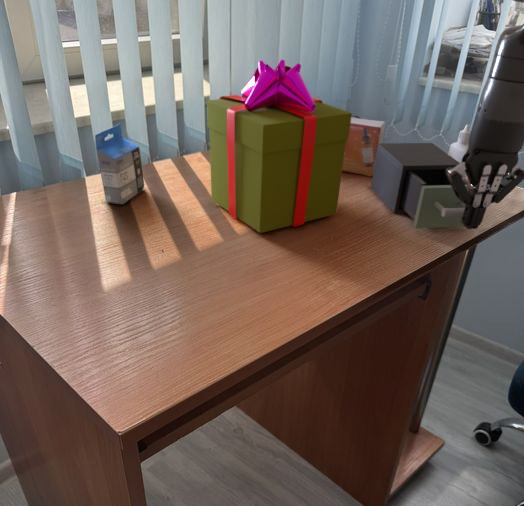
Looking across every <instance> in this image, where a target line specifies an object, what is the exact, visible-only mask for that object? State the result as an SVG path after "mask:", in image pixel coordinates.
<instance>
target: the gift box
mask: <svg viewBox="0 0 524 506" xmlns="http://www.w3.org/2000/svg"><path fill="white" fill-rule="evenodd" d="M301 68H302V65H301V64H300V63H299V62H297V63H296V64H295V65H294V66H292V67H290V66H288V65H286V61H285V59H280V61H279V62H278V63H277V65H276V67H275V68H273V67H272V66H270V65H269V64H268V63H267V64H266V63H265V62H264V61H263V60H260V61H258V67H257V68H256V69H255V71H254V72H253V73H252V75H251V76H250V78H249V79H248V81H247V83H246V84H245V85H244V87H243V89H241V95H237V94H233V95H221V96H220V97H219V98H218V99H208V100H206V116H207V117H206V119H207V121H206V122H207V123H206V124H207V128H209V153H210V154H209V155H210V157H209V158H210V190H211V191H210V194H211V195H210V196H211V197H210V199H211V201H212V202H214V203H215V204H217V205H219V206H220V207H221V208H223V209H224V210H226V211H227V212H228V214H229V216H231V217H232V218H233V219H235V220H237V221H242V222H243V223H245V224H246V225H247V226H249V227H250V228H252V229H253V230H255V231H256V232H258V233H259V234H262V233H266V232H270V231H271V232H272V231H274V230H278V229H279V230H280V229H283V228H286V227H290V228H294V227H300V226H302V225H304V224H305V223H306V222H310V221H314V220H318V219H322V218H326V217H329V216H334V215H336V214H337V211H338V204H339V196H340V189H341V182H342V174H343V171H342V166H343V159H344V151H345V143H346V140H348V138H349V130H350V123H351V116H353V115H352V112H350V111H347V110H344V109H341V108H339V107H335V106H332V105H331V104H327V103H324V102H323V100H321V99H318V98H316V97H313V96H312V95H311V93H310V90H309V89H308V87H307V85H306V83H305V81H304V78H303V76H302V74H301Z"/></svg>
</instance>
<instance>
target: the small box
mask: <svg viewBox="0 0 524 506" xmlns="http://www.w3.org/2000/svg"><path fill="white" fill-rule="evenodd" d="M360 118H361V117H360ZM360 118H355V117H351V123H350V130H349V138H348V140H346V143H345V151H344V159H343V166H342V172H347V173H354V174H359V175H363V176H368V177H373V172H374V166H375V161H376V155H377V149H378V144H383V140H384V133H385V128H386V121H384V120H374V119H367V118H366V119H365V118H361V119H360Z"/></svg>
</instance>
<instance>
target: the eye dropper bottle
mask: <svg viewBox="0 0 524 506" xmlns="http://www.w3.org/2000/svg"><path fill="white" fill-rule="evenodd" d="M470 134H471V130H470V124H466V125H465V127H464V129H462V130H460V131H459V133H458V138H457V141H454V142H453V143H451V144H450V146H449V150H448V153H447V154H448V155H450V156H451V157H452V158H454V159H455V160H457V161H458V162H459V163H461V162H462V158H463V156H464V155H465V153H466V152H467V150H468V144H469V137H470ZM464 174H465V179H466V180H467V175H466V172H464Z"/></svg>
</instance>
